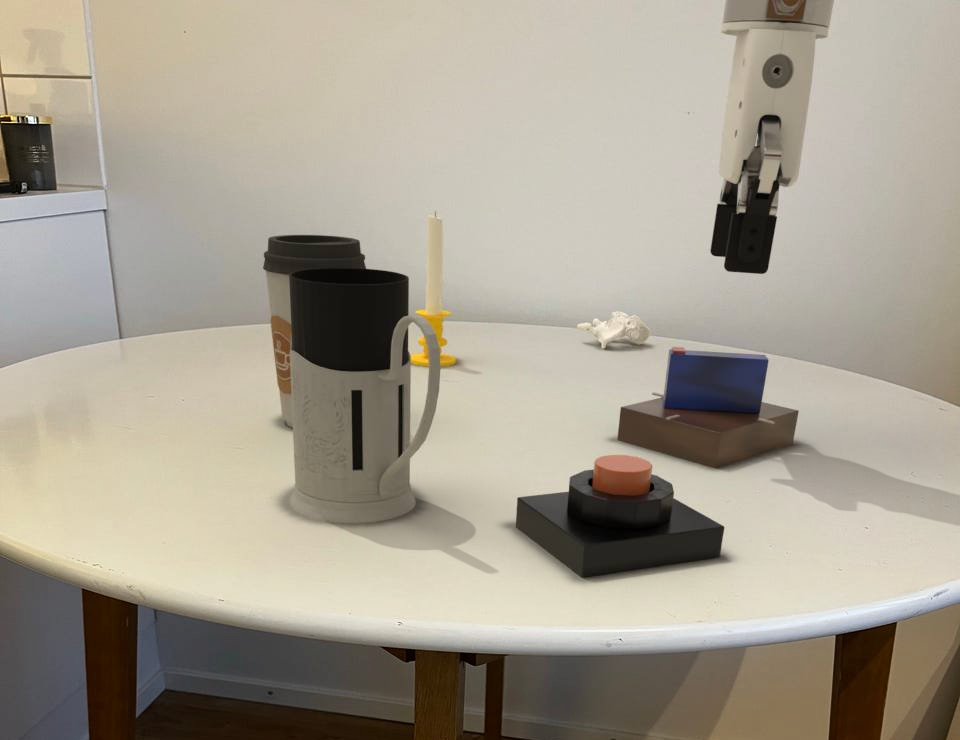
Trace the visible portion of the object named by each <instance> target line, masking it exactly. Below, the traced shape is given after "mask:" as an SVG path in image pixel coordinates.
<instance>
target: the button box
mask: <svg viewBox="0 0 960 740" xmlns="http://www.w3.org/2000/svg"><path fill="white" fill-rule="evenodd" d="M593 473H594V469H585V470H582V471H580V472H578V473H575V474H573V475H571V476H569V481H568V491H562V492H561V491H560V492H552V493H543V494H536V495H535V494H534V495H525V496H519V497H517V498H516V501H517V502H516V516H515V528H516V529H517V530H519V531H520V532H521V533H522V534H524V535H525V536H526V537H528V538H529V539H530V540H531V541H533V542H534V543H535V544H537V545H538V546H539V547H540V548H541V549H543V550H544V551H546V552H547V553H549V555H551V556H552V557H554V559H556V560H557V561H559V562H560V563H562V564H563V565H564V566H566V568H568V569H569V570H571V571H572V572H573V573H574V574H575V575H577V576H578V577H579V578H581V579H586V578H593V577H599V576H606V575H614V574H620V573H626V572H632V571H633V572H634V571H638V570H639V571H640V570H647V569H652V568H653V569H654V568H659V567H666V566H673V565H679V564H686V563H691V562H693V563H694V562H699V561H707V560H711V559H720V557H721V552H722V545H723V539H724V533H725V526H724V525H723V524H721V523H719V522H717V521H715V520H714V519H712V518H710V517H708V516H707V515H705V514H703V513H701V512H699V511H698V510H696V509H694V508H692V507H691V506H688V505H687V504H685V503H683V502H681V501H680V500H679V499H676V498H675V497H674V496H675V490H674V486H673V483H671V482H669V481H668V480H666V479H664V478H662V477H660V476H658V475H656V474H651V483H650V491H649V493H647V494H643V495H634V496H630V495H616V494H609V493H605V492H601V491H597V490H596V489H594V488H593V487H592V483H593Z"/></svg>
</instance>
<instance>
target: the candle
mask: <svg viewBox="0 0 960 740" xmlns="http://www.w3.org/2000/svg"><path fill="white" fill-rule="evenodd" d="M427 220H428V221H427V238H426V239H427V241H426V281H425V283H426V284H425V309H419V310H416V311H415V315H418V316H421V317H423V318H425V319H426V320H427V321H428V322H429V323H430V324H431V326H432V328H433V330H434V331H435V333H436V336H437V340H438V344H439V348H440V366H441V367H440V368H442V367H449V366H453V365H455V364H456V363H457V358H456V357H455V356H454V355H451V354H446V353H442V352H443V349H442V347H445V346H447V345H448V339H446V338H444V337H443V333H444V326H443V323H444V318H445V317H448V316H451V315H452V312H451V311H449V310H443V309H442V307H443V306H442V301H443V300H442V298H443V297H442V296H443V295H442V294H443V245H444V244H443V240H444V239H443V237H444V236H443V233H444V232H443V218H442V217H438V216H437V211H436V210H435V211H434V215H432V214H431V215H430V214H429V215H428V217H427ZM417 343H418V345H420V346H422V347H423V350H422V351H423V352H420V353H414V354H410V356H411V365H415V366H421V367H429V358H428V347H427V343H426V339H425V336H424V335H423V336H422V337H420V338H418V340H417Z"/></svg>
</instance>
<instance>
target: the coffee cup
mask: <svg viewBox="0 0 960 740" xmlns="http://www.w3.org/2000/svg"><path fill="white" fill-rule="evenodd" d="M267 241H268V242H267V250H265V251H264V252H263V258H264V261H263V267H262V269H263V270H264V271H265V277H266V285H267V294H268V303H269V313H270V319H269V320H270V321H269V322H270V329H271V338H272V347H273V356H274V365H275V372H276V374H275V375H276V381H277V387H278V391H279V399H280V400H279V401H280V409H281V417H282V419H283V420H284V421H285V424H286V425H287V426H288V427H290V428H292V429H293V418H292V395H291V372H290V337H291V333H292V331H291V308H290V284H289V274H290V273H292V272H295V271H299V270H305V269H316V268H362V269H367V267H366V263H365V262H366V261H365V260H366V255H365V254H363V253H362V250H361V249H362V248H361V241H360V240H359V239H357V238H353V237H347V236H337V235H325V234H324V235H323V234H284V235H274V236H270V237H268V238H267Z"/></svg>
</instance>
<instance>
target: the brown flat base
mask: <svg viewBox="0 0 960 740" xmlns="http://www.w3.org/2000/svg"><path fill="white" fill-rule="evenodd" d="M651 395H652V396H656V397H657V398H654V399H648V400H645V401H641V402H637V403H632V404H627V405H623V406H620V409H619V410H620V411H619V419H618V430H617V441H618V442H622V443H625V444H629V445H631V446H632V445H633V446H635V447H639V448H643V449H646V450H649V451H653V452H657V453H660V454H663V455H667V456H671V457H672V458H673V457H674V458H677V459H681V460H684V461H688V462H691V463H695V464H697V465H701V466H705V467H708V468H712V469H719V468H721V467H724V466H725V467H726V466H728V465H730V464H733V463H738V462H740V461H742V460H747V459H748V458H752V457H756V456H758V455H761V454H765V453H767V452H770V451H774V450H777V449H780V448H783V447H786V446H789V445H792V444H794V440H795V433H796V429H797V424H798V418H799V410H798V409H794V408H789V407H785V406H781V405H777V404H772V403H769V402H763V401H762V404H761V410H760V414H755V413H740V412H724V411H708V410H693V409H677V408H664V404H663V396H664V393H660V392H659V393H658V392H655V391H654V392H652V393H651Z"/></svg>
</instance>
